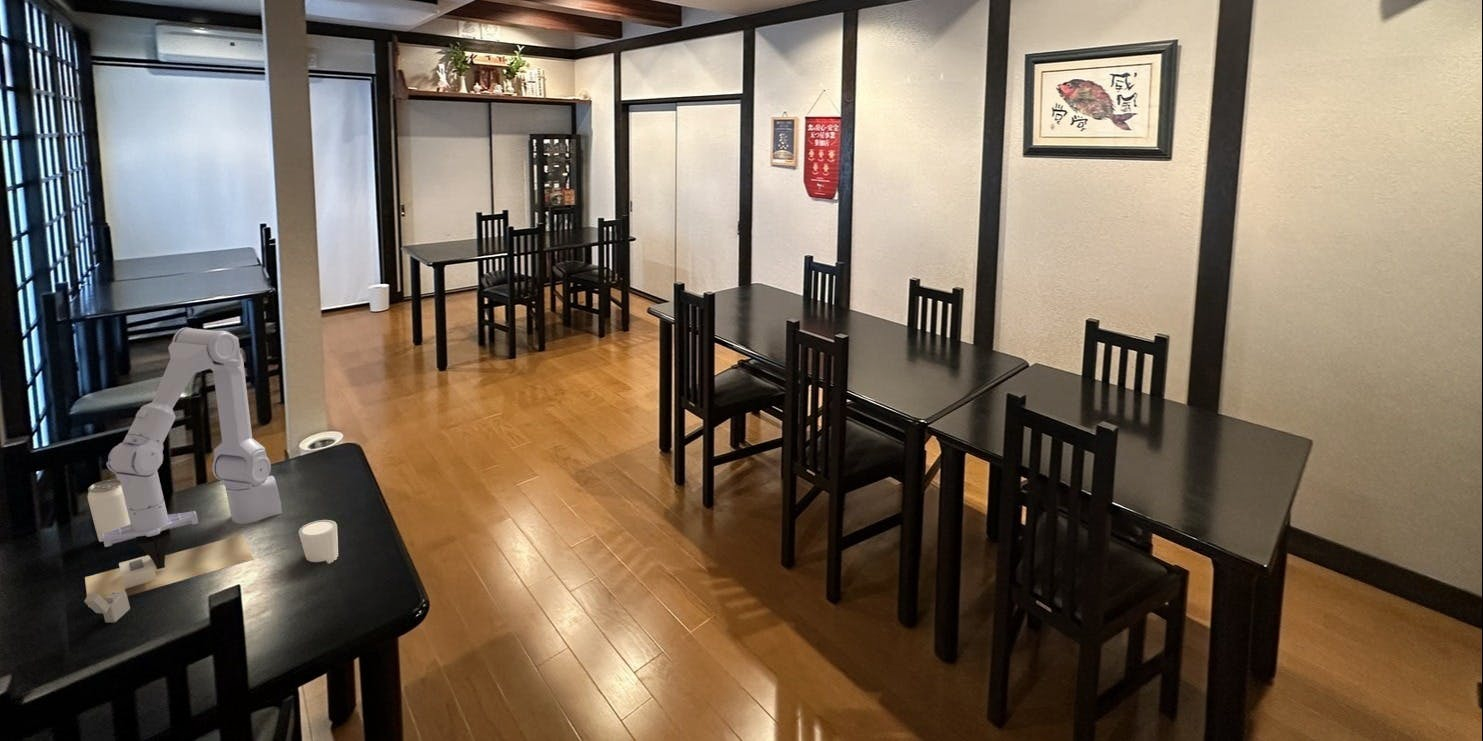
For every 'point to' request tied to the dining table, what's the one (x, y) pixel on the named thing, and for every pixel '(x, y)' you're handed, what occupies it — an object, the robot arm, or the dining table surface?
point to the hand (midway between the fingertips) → (160, 566)
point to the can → (107, 506)
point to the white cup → (320, 541)
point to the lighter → (109, 605)
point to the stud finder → (137, 571)
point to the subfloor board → (177, 567)
